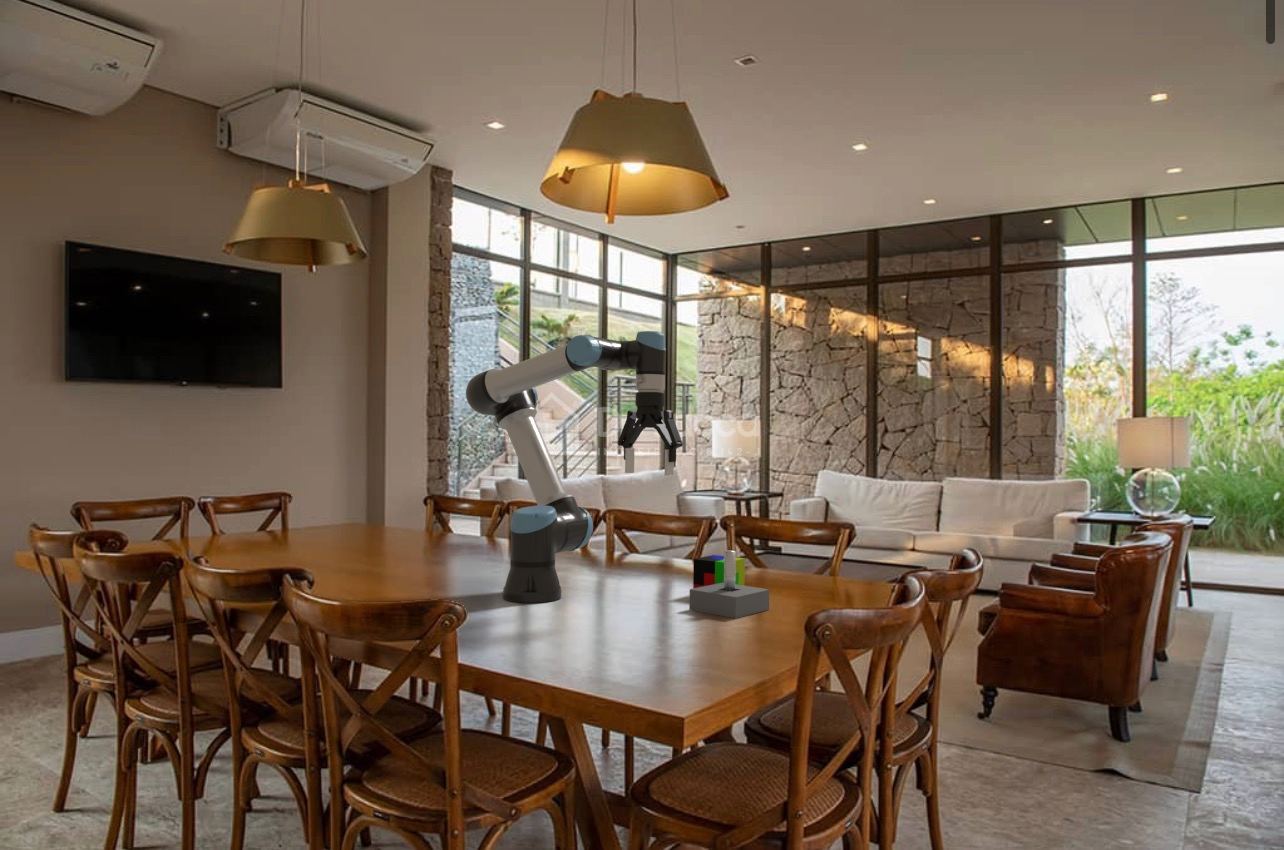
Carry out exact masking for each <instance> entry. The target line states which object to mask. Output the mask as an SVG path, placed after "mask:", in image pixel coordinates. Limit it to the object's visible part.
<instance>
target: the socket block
mask: <svg viewBox="0 0 1284 850" xmlns="http://www.w3.org/2000/svg"><path fill="white" fill-rule="evenodd" d="M690 610H691V611H695V612H701V613H704V614H705V613H706V614H712V615H715V616H721V617H726V618H731V619H739V618H744V617H746V616H750V615H755V614H758V613H763V612H766V611H769V610H770V589H767V588H762V587H761V588H760V587H756V586H755V587H754V586H749V585H745V586H743V585H737V584H735V591H733V592H730V591H724V583H719V584H714V585H709V586H704V587H699V588H694V589H693V588H689V611H690Z"/></svg>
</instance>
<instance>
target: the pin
mask: <svg viewBox="0 0 1284 850" xmlns="http://www.w3.org/2000/svg"><path fill="white" fill-rule="evenodd" d="M723 552H724V555H723V556H724V591H730V592H733V591H735V573H736V557H737V551H736V550H732V549H731V550H728V549H725V550H724V551H723Z"/></svg>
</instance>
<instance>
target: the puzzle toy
mask: <svg viewBox="0 0 1284 850" xmlns="http://www.w3.org/2000/svg"><path fill="white" fill-rule="evenodd" d="M745 570H746V558H745V557H737V556H736V573H735V584H737V585H743V586H746V585H745V581H746V580H745V579H746V578H745V577H746V576H745V575H746V574H745V573H746V571H745ZM692 574H693V575H692V576H693V577H692V578H693V579H692V580H693V582H692V585H693V586H692V589H694V588H699V587H704V586H709V585H714V584H719V583H724V555H718V554H717V555H716V554H711V555H705V556H701V557H696V558H693V573H692Z"/></svg>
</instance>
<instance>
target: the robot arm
mask: <svg viewBox="0 0 1284 850" xmlns="http://www.w3.org/2000/svg"><path fill="white" fill-rule="evenodd" d="M635 336H636V337H635V339H633V340H616V339H615V340H613V339H609V338H608V339H607V338H602V337H597V336H592V335H591V334H578V335H575V336H573V337H572V338H571V339H570V341H568V343H567V344H565V345H562V346H560V347H557V348H554V349H552V350H548V351H547V352H544V353H543V352H542V353H541V354H539V355H536V356H534V357H531V358H528V359H526V360H522V361H520V362H516V363H514V364H512V365H510V366H506V367H504V368H502V369H498V368H490V369H488V370H486V371H483V372H480V373H477V374H475V375H474V376H473V377H472V378H471V379H470V380H469V382H468V383H467V384H466V388H465V397H466V401H467V404H468V405H469V406H470V408H471V409H472V410H473V411H475V412H477V413H478V414H480V415H484V416H485V415H486V416H494V418H495V420H496V423H497V425H498V427H499V428H501V429H502V430H505V431H506V432H507V435H508V438H509V439H510V443H511V444H512V446H513V449H514V451H515V452H514V453H515V454H516V457H517V459H518V462H519V464H520V466H521V468H522V470H523V474H524V476H525V478H526V481H527V483H528V485H529V488H530V490H531V492H532V495H533V497H534V500H535V502H536V505H532V506H530V505H529V506H525V507H524V506H523V507H520V508H517V509H515V510H514V511H513V512H512V514H511V517H510V519H511V520H510V525H509V528H510V543H509V544H510V556H509V558H510V559H509V561H510V564H509V565H510V567H509V570H508V573H507V577H506V582H505V584H504V587H503V588H502V589H503V590H502V599H504V600H506V601H508V602H513V603H515V602H516V603H524V604H525V603H530V604H531V603H532V604H535V603H548V602H553V601H558V600H560V599H561V598H562V586H561V585H560V580H559V576H558V573H557V570H556V554H558V553H559V554H560V553H565V552H573V551H576V550H579V549H581V548H583V547H584V546H586V545H587V544H588V543H589V541H590V539H591V537H592V534H593V532H594V531H593V530H594V523H593V518H592V516H591V514H590V513H589V511H588V510H586V509H585V508H583V507H582V506H578V502H577V501H576V498H575V497H574V495H572V494H569V493H567V492H566V489H565V487H564V485H563V484H564V483H563V482H562V480H561V478H560V475H559V473H558V470H557V468H556V466H555V463H554V461H553V458H552V456H551V454H550V452H549V450H548V447H547V444H546V443H545V439H544V437H543V435H542V433H541V431H540V428H539V426H538V424H537V421H536V416H537V413H538V410H537V406H538V400H539V399H538V397H539V396H538V391H537V389H536V387H539V386H542V385H544V384H547V383H550V382H554V381H557V380H559V379H562V378H564V377H567V376H569V375H573V374H575V373H578V372H580V371H581V372H582V371H584V370H587V369H589V368H593V367H594V368H599V370H602V371H604V370H605V371H618V370H619V371H620V370H635V390H636V391H637V392H636V393H635V401H634V403H635V406H636V410H631V409H630V410H627V412H626V413H627V414H626V419H625V421H624V425H623V428H622V429H621V433H620V435H619V437H618V440H617V445H618V446H621V447H622V448H623V460H624V473H625V474H632V473H633V474H634V473H635V447H634V444H635V443H636V441H637V439H638V438H639V437H640V435H641V434H642V432H643V431H644V430H645V429H646V428H647V429H654V430H656V432H657V433H658V435H659V436H660V438H661V439H662V441H663V443H664V445H665V446H666V448H665V449H664V476H674V475H675V474H674V473H675V463H676V459H677V449H679V448H681V447H683V446H684V444H683V440H682V438H681V435H680V432H679V430H678V427H677V424H676V421H675V420H674V411H673V410H668V409H665V410H664V407H665V402H666V401H665V397H666V396H665V395H666V394H665V392H663V391H665V390H666V372H665V370H666V369H665V368H666V351H667V349H666V336H665V333H663V332H662V331H655V330H641V331H638V332H637V333H636V335H635Z"/></svg>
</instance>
